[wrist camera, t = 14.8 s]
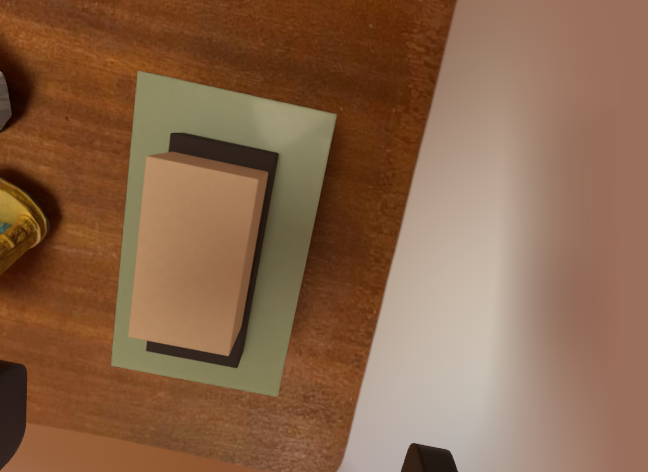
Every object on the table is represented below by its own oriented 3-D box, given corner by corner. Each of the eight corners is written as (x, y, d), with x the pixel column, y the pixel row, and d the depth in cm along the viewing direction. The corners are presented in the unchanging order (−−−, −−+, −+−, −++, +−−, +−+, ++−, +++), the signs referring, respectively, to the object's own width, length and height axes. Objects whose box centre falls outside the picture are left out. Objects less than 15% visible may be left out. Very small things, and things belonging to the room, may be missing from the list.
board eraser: (181, 132, 25) (143, 133, 20) (279, 152, 26) (266, 160, 20) (157, 336, 29) (119, 383, 24) (243, 352, 29) (224, 403, 24)
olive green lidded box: (190, 85, 34) (137, 70, 24) (334, 117, 35) (337, 114, 25) (164, 306, 39) (110, 366, 30) (289, 331, 40) (277, 397, 30)
